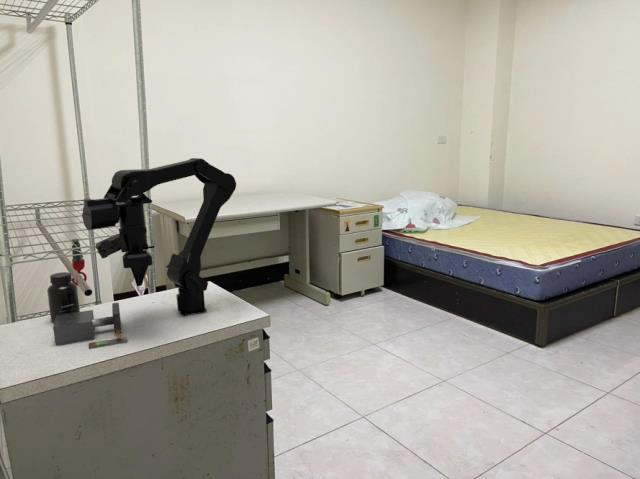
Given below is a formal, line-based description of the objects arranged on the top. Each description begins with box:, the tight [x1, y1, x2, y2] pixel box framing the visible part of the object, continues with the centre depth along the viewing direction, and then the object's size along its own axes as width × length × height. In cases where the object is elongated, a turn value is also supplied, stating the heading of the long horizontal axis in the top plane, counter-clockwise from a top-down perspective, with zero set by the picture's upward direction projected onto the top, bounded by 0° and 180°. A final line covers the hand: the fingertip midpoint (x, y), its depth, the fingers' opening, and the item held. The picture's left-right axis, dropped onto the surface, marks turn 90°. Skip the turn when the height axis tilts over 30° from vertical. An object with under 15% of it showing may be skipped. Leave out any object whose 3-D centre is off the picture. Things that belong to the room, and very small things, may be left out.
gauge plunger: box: [92, 301, 122, 339], centre depth 113 cm, size 12×13×5 cm
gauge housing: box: [52, 309, 128, 350], centre depth 113 cm, size 15×13×4 cm
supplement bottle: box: [47, 271, 81, 323], centre depth 123 cm, size 7×7×12 cm
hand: (139, 285), depth 118 cm, fingers closed
